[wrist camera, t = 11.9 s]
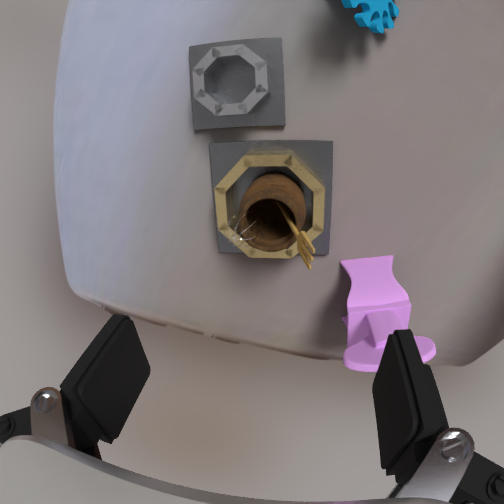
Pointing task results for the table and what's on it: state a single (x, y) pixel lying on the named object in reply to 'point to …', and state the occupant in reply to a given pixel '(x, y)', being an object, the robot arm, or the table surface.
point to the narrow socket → (237, 83)
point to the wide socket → (266, 161)
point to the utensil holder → (274, 215)
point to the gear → (374, 13)
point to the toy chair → (375, 313)
